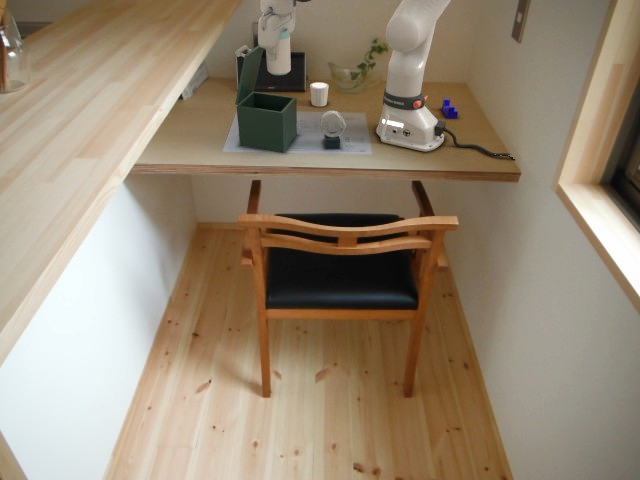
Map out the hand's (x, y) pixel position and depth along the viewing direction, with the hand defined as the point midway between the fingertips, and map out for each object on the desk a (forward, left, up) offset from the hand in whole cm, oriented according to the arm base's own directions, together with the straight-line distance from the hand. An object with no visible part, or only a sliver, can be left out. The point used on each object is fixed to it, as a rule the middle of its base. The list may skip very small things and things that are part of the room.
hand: (277, 55), depth 135 cm
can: (0, 0, -5) cm, 5 cm away
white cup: (+6, -29, -26) cm, 39 cm away
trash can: (+1, +5, -25) cm, 26 cm away
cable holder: (-36, -52, -26) cm, 68 cm away
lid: (+5, +7, -5) cm, 10 cm away
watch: (-17, -5, -26) cm, 31 cm away
